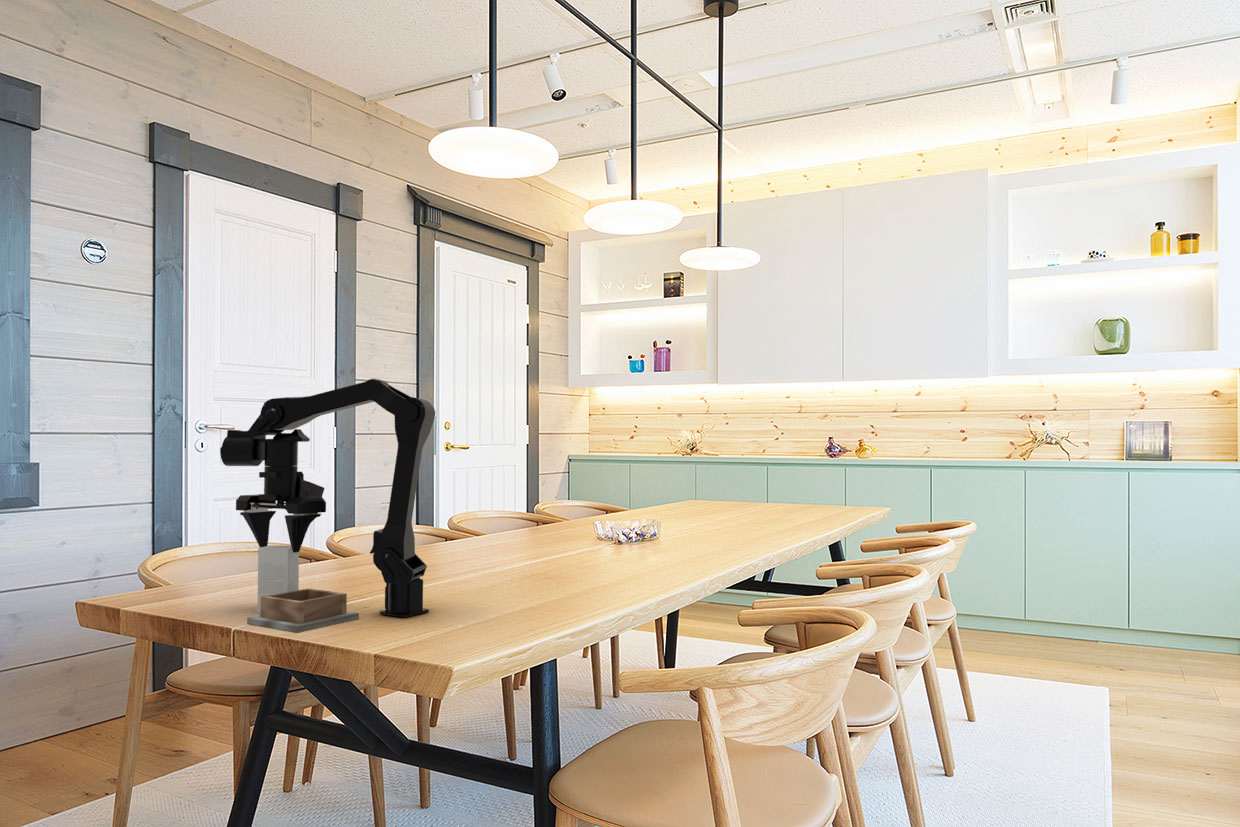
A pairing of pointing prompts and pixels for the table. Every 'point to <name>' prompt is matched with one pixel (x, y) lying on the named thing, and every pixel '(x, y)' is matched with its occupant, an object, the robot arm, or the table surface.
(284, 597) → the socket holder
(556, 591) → the table surface
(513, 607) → the table surface
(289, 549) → the skincare box
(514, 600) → the table surface
